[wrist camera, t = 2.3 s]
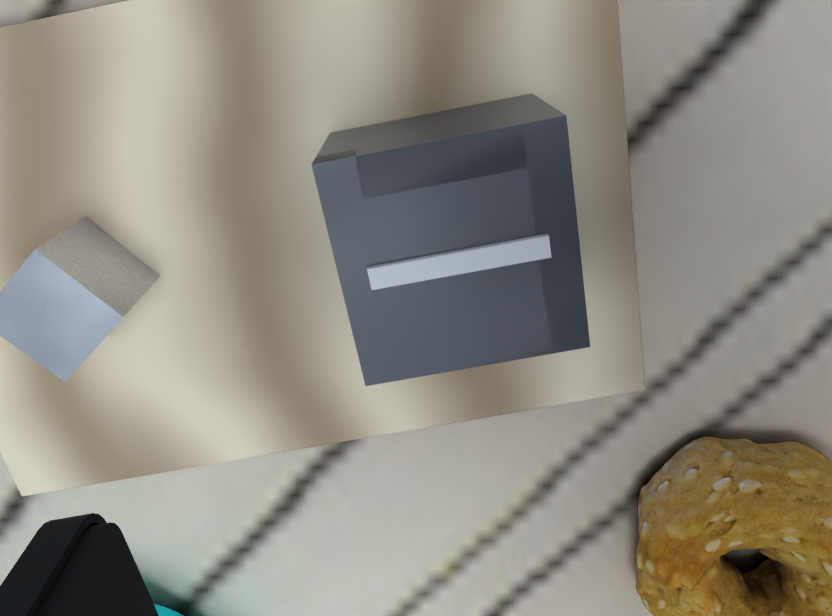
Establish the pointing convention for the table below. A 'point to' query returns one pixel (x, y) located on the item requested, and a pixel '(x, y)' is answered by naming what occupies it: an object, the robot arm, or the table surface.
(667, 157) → the table surface
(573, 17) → the beige wavy cloth
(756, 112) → the table surface
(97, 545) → the robot arm
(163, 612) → the donuts
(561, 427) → the table surface
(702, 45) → the table surface
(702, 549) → the bagel
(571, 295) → the dark grey box
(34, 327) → the silver metal cube
